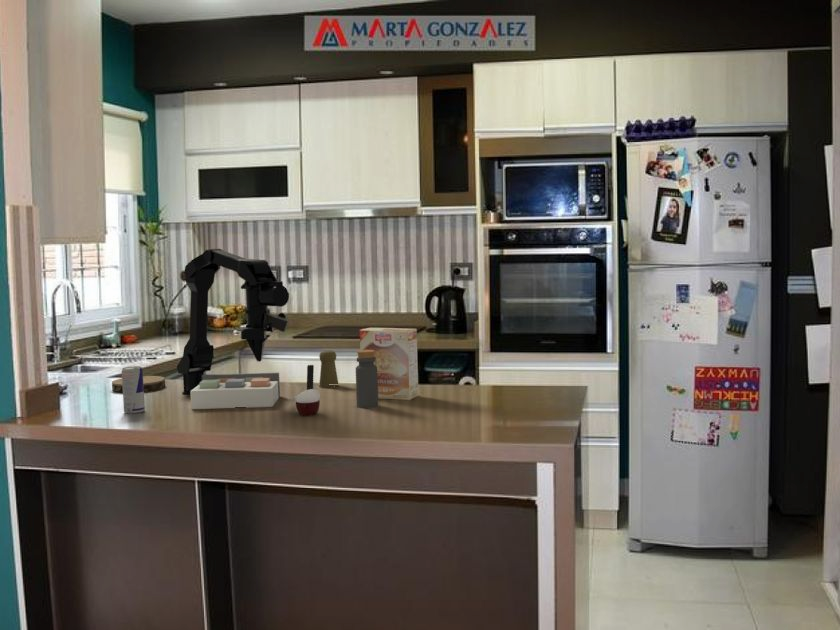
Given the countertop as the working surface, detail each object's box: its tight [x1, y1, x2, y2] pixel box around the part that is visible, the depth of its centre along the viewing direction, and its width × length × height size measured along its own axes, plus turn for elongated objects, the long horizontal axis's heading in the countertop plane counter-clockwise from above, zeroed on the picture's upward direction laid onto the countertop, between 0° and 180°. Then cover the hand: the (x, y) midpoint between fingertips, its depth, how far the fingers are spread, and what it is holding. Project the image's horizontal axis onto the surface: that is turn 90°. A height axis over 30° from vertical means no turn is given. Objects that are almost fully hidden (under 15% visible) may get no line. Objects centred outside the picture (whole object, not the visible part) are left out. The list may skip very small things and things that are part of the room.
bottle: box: [355, 349, 379, 409], centre depth 224 cm, size 6×6×15 cm
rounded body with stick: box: [294, 364, 321, 417], centre depth 216 cm, size 10×6×12 cm, turn 153°
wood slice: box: [111, 375, 166, 394], centre depth 262 cm, size 16×16×3 cm
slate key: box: [225, 379, 245, 388], centre depth 233 cm, size 5×5×4 cm
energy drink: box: [121, 365, 146, 415], centre depth 225 cm, size 5×5×12 cm
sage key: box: [200, 379, 220, 389], centre depth 232 cm, size 5×5×4 cm
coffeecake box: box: [359, 327, 419, 401], centre depth 236 cm, size 15×7×20 cm, turn 68°
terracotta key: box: [251, 378, 270, 387], centre depth 233 cm, size 5×5×4 cm
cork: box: [318, 349, 339, 389], centre depth 257 cm, size 6×6×11 cm
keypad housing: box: [190, 372, 281, 410], centre depth 234 cm, size 22×15×7 cm
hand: (259, 361), depth 232 cm, fingers closed
